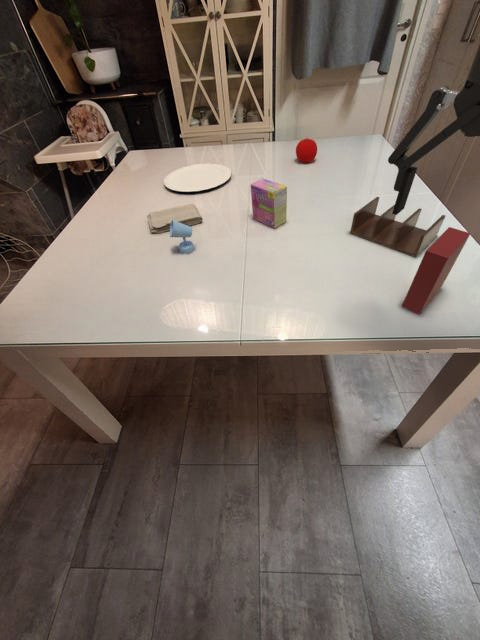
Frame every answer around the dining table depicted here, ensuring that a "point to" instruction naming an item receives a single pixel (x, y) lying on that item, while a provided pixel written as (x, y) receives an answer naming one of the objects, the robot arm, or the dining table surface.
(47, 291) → the dining table surface
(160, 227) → the washcloth
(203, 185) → the plate
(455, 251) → the upright red slab
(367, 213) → the rack
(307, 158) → the fruit
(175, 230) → the spotlight
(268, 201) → the box
